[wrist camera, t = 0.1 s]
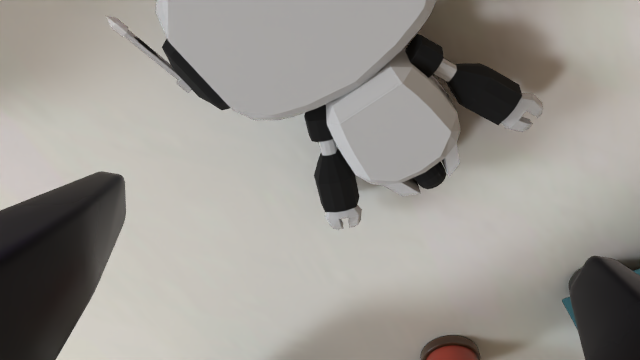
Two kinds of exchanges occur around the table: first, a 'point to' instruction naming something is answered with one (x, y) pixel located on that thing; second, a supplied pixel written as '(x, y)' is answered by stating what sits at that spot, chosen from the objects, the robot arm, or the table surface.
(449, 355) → the figure
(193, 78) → the robot toy
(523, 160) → the table surface
